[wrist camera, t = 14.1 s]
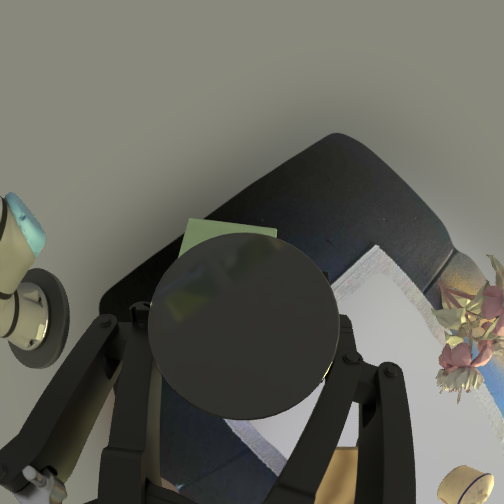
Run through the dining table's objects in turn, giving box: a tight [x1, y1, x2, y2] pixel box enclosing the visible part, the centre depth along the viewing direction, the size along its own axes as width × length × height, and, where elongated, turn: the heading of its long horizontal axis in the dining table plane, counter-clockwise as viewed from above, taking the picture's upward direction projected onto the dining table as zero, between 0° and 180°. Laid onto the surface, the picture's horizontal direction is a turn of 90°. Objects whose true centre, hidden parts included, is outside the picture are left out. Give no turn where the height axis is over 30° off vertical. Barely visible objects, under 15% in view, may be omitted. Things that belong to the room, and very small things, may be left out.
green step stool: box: [178, 218, 277, 258], centre depth 40 cm, size 12×12×10 cm
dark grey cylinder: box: [148, 232, 340, 420], centre depth 15 cm, size 6×6×14 cm
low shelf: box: [314, 440, 358, 504], centre depth 30 cm, size 11×11×6 cm
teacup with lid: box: [437, 465, 494, 504], centre depth 21 cm, size 12×9×12 cm
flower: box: [431, 255, 504, 403], centre depth 30 cm, size 20×22×25 cm
